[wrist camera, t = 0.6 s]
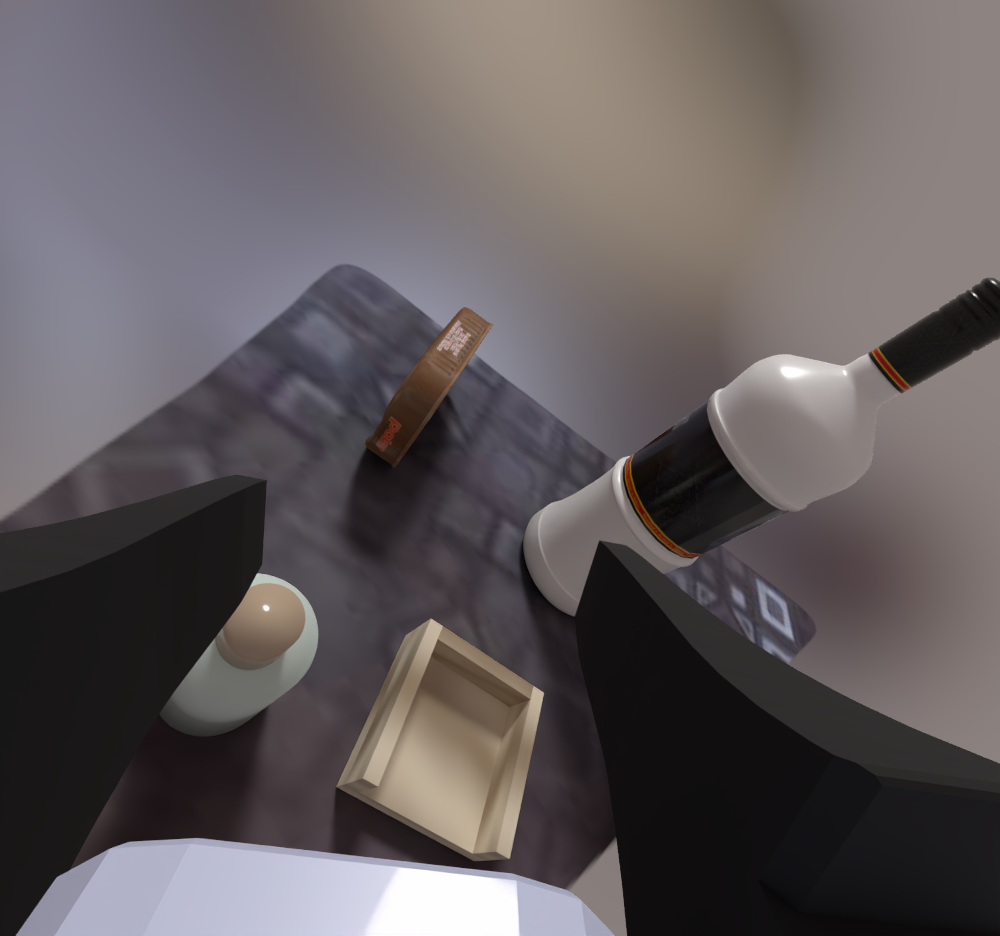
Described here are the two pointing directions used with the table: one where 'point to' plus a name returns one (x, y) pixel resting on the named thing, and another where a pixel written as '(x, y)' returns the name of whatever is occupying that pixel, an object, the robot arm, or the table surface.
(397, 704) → the wooden box
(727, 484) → the vodka
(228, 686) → the bottle
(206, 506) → the robot arm
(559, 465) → the table surface
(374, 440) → the tin
